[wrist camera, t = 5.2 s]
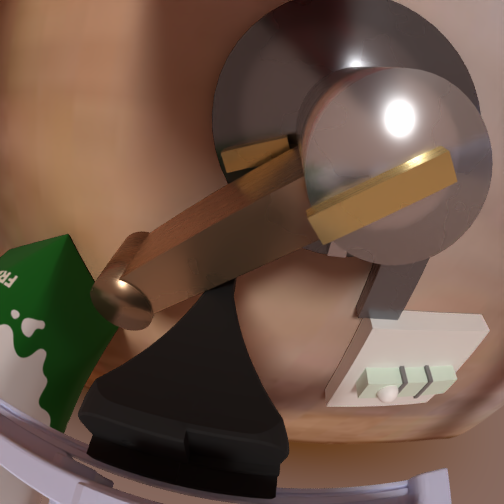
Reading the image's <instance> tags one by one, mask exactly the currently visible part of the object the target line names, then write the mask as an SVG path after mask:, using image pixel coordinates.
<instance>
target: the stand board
mask: <svg viewBox="0 0 504 504" xmlns="http://www.w3.org/2000/svg"><path fill="white" fill-rule="evenodd" d="M489 331H490V330H489V328H488V326H487V324H486V322H485V320H484V318H483V316H482V315H481V314H458V313H437V312H420V311H404V310H403V312H402V313H401V315H400V317H399V319H398V320H387V319H371V318H363V319H362V321H361V323H360V325H359V327H358V329H357V331H356V333H355V335H354V337H353V339H352V341H351V343H350V345H349V347H348V349H347V351H346V353H345V354H344V356H343V358H342V360H341V362H340V364H339V366H338V367H337V369H336V371H335V373H334V375H333V376H332V378H331V380H330V382H329V383H328V385H327V387H326V389H325V399H326V406H334V407H357V406H387V405H403V404H415V403H425V402H427V401H428V400H430V399H431V398H432V397H433V396H434V395H435V394H441V393H444V392H445V391H446V390H447V389H448V388H449V387H450V386H451V385H452V384H453V383H454V382H455V381H456V380H457V377H456V374H455V372H456V371H457V370H458V369H459V368H460V367H461V366H462V365H463V363H464V362H465V361H466V360H467V359H468V358H469V356H470V355H471V354H472V353H473V351H474V350H475V349H476V348H477V347H478V345H479V344H480V343H481V341H482V340H483V339H484V338H485V336H486V335H487V334H488V332H489Z"/></svg>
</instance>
